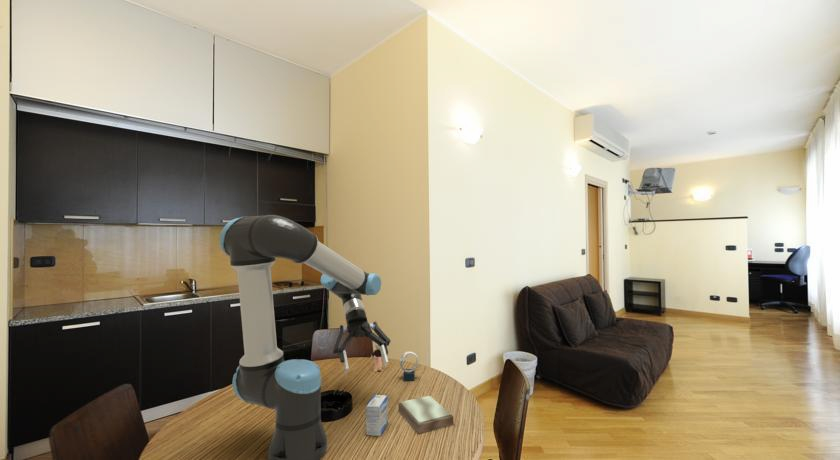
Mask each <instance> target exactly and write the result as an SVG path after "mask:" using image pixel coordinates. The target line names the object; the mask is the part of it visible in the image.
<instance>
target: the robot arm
mask: <svg viewBox="0 0 840 460" xmlns="http://www.w3.org/2000/svg"><path fill="white" fill-rule="evenodd" d="M219 246H220V249H221V250H222V252H223V253H225V255H226V256H229V262H230V267H231V268H232V269H234V270H235V271H236V272H237V283H238V294H239V303H240V304H239V305H240V317H241V327H242V328H241V329H242V339H243V340H242V341H243V350H244V351H243V352H244V355H242V356H241V358H240V359H239V362H238V363H239V365H238V366H237V368H236V369H235V370H236V372H235V373H234V374H233V377H232V390H233V392H234V394H235V395H236V396H237V398H238V399H240V400H242V401H244V402H245V403H248V404H249V405H257V406H260V407H262V408H267V409H271V410H274V411H275V413H274V414H275V417H274V418H275V423H274V424H275V426H274V431H273V434H272V436H271V437H272V438H271V440H270V443H269V447H268V451H267V460H320V459H322V458H323V457H324V456H325V454H327V451H328V436H327V434H326V431H325V428H324V426H323V421H322V420H321V419H322V418H321V417H322V415H321V414H322V411H321V409H322V407H321V406H322V377H321V369H320V366H319V365H318V364H317V363H315V362H314V361H311V360H308V359H298V358H296V359H295V358H294V359H293V358H292V359H288V360H285V358H284V351H283V350H282V349H281V348H279V347H278V345H277V344H278V343H277V331H276V319H275V318H276V317H275V309H274V307H275V306H274V296H273V294H274V293H273V284H272V283H273V282H272V272H271V268H272V266H273V265H274V264H275V263H276V258H279V259H285V260H289V261H291V262H294V263H295V264H298V265H299V264H305V265H306V266H308V267H310V268H312V269H313V270H315V271H318V272H320V274H322V275H321V277H320V284H321V285H322V286H323V287H324V288H325V289H326V290H327V291H329V292H331V293H332V294H334V295H335V296H337V297H338V298H339V299H341V302H342V307H343V311H344V316H345V322H346V326H344V325H343V324H342V325H339V329H338V335H337V338H336V340H335V344H334V346H333V348H332V349H333V350H332V354H334V355H335V354H337V355H338V357H339V362H340V363H341V364H342V363H343V368H344V373H345V374H348V372H349V370H350V367H349V361H348V358H347V357H348V355H347V352H346V351H347V350H346V348H347V346H348V345H349V343H350V342H351V341H352V339H353V338H356V339H357V338H364V337H366V338H368V339H370V340H371V341H372V342H374V343H375V344H378V345H379V346H380V347H381V348H380V351H381V355H382V358H383V365H384V367H387V366H388V363H389V358H388V355H389V351H388V346H390V343H391V339H390V337H388V336H387V335H386V334H385V332H384V331H383V330H382V329H381V328H380V327H379V325H378V322H377V321H373V323H369V322H368V317H367V314H366V310H365V305H364V302H363V297H362V295H363V296H376V295H377V294H379V292H380V290H381V287H382V280H381V279H382V278H381V277H380V276H379V274H377V273H373V272H370V273H368V272H366V271H365V270H363V269H361V268H360V267H358V266H357V265H355V264H354V263H352V262H351V261H349V260H348V259H346V258H345V257H343V256H342V255H340V254H339V253H337V252H336V251H334V250H332V249H331V248H330V247H328V246H326V244H324V243H322V242H320V241H319V239H318V236H317V235H316V234H315V233H313V232H312V231H311V230H309V229H307V228H306V227H304V226H303V225H301V224H299V223H297V222H295V221H293V220H292V219H290V218H287V217H284V216H282V215H277V214H267V215H253V216H251V215H250V216H241V217H237V218H234V219H231V220H230V221H228V222H227V223H226V224H225V226H223V228H222V230H221V232H220V235H219ZM373 331H374V332H373ZM346 332H347V333H349V334H348V335H347V337H346V338H345V340H344V341H343V343H342V345H341V346H340V343H341V340H342V337H343V335H344V334H345V333H346ZM339 346H340V347H339Z"/></svg>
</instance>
